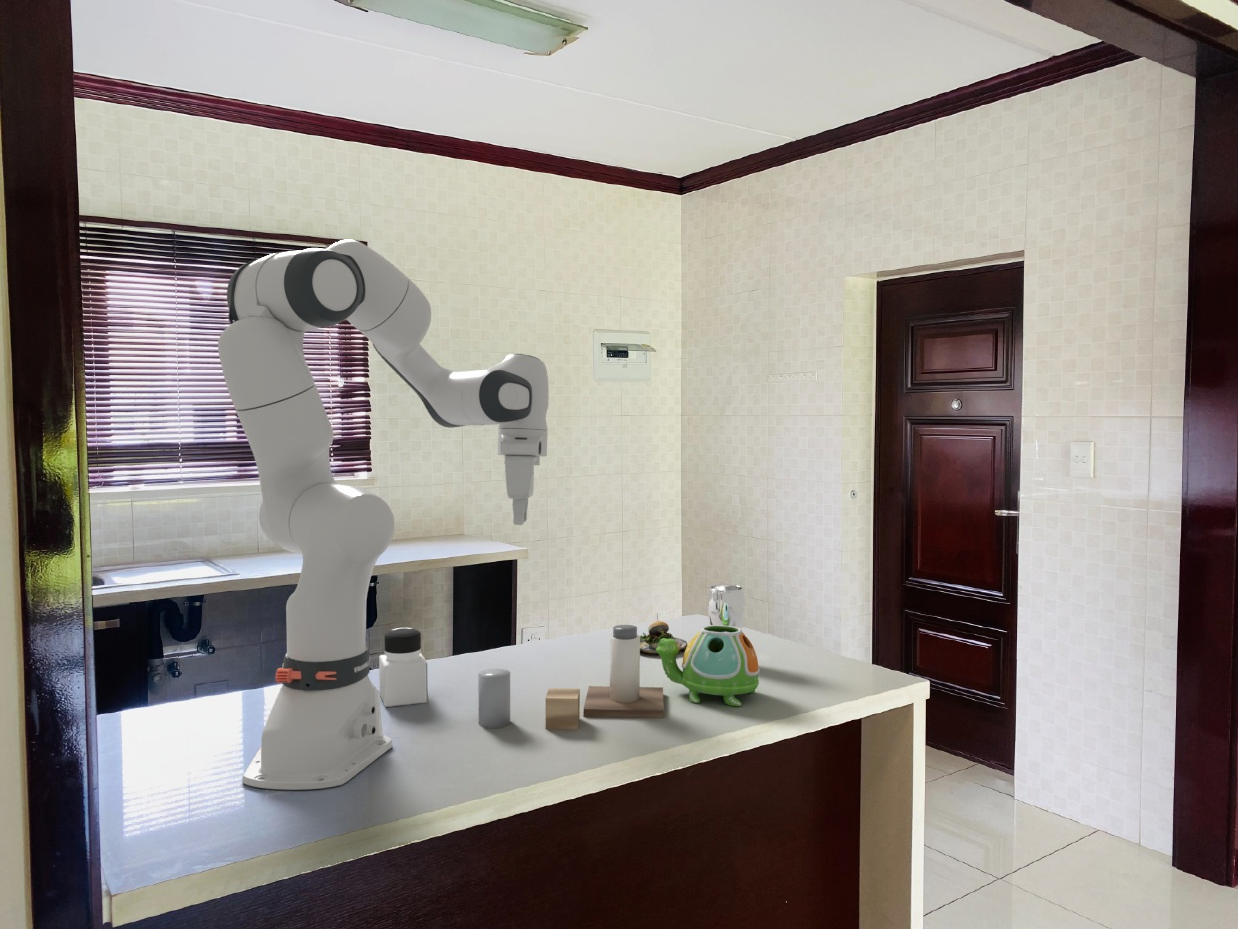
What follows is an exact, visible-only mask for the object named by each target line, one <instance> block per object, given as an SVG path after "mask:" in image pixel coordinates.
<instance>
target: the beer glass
mask: <svg viewBox="0 0 1238 929" xmlns="http://www.w3.org/2000/svg"><path fill="white" fill-rule="evenodd" d="M744 593H745V592H744V587H743V586H741V585H736V584H729V583H726V584H725V583H724V584H721V583H720V584H713V585H710V587H709V594H708V596H709V597H708V606H707V607H708V621H709V625H724V626H733V627H738V628H741V629H743V624H744V619H745V595H744ZM722 633H729V632H722Z"/></svg>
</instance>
